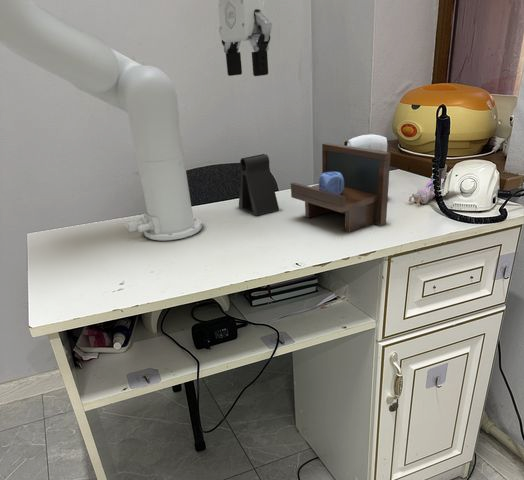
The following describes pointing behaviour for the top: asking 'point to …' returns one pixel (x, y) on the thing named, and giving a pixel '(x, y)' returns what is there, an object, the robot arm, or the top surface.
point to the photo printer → (369, 142)
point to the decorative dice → (331, 182)
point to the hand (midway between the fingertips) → (247, 75)
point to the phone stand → (257, 186)
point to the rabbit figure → (425, 193)
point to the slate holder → (350, 186)
